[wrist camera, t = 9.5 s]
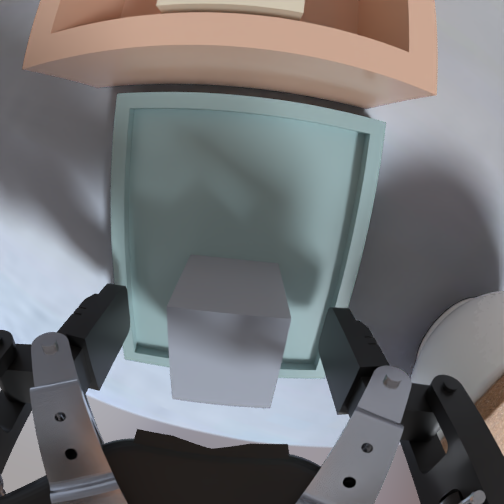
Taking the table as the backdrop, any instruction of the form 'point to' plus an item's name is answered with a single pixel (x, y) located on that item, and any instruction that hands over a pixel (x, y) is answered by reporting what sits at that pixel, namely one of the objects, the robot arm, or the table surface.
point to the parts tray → (239, 205)
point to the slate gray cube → (227, 331)
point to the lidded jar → (469, 356)
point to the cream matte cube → (237, 7)
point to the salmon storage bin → (244, 48)
